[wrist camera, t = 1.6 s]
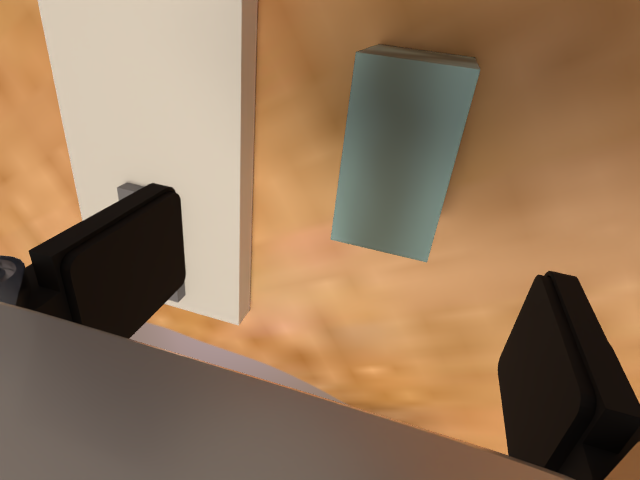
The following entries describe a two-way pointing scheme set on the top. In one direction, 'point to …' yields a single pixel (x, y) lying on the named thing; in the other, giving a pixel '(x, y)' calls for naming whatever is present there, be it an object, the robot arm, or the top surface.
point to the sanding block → (400, 147)
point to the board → (166, 123)
